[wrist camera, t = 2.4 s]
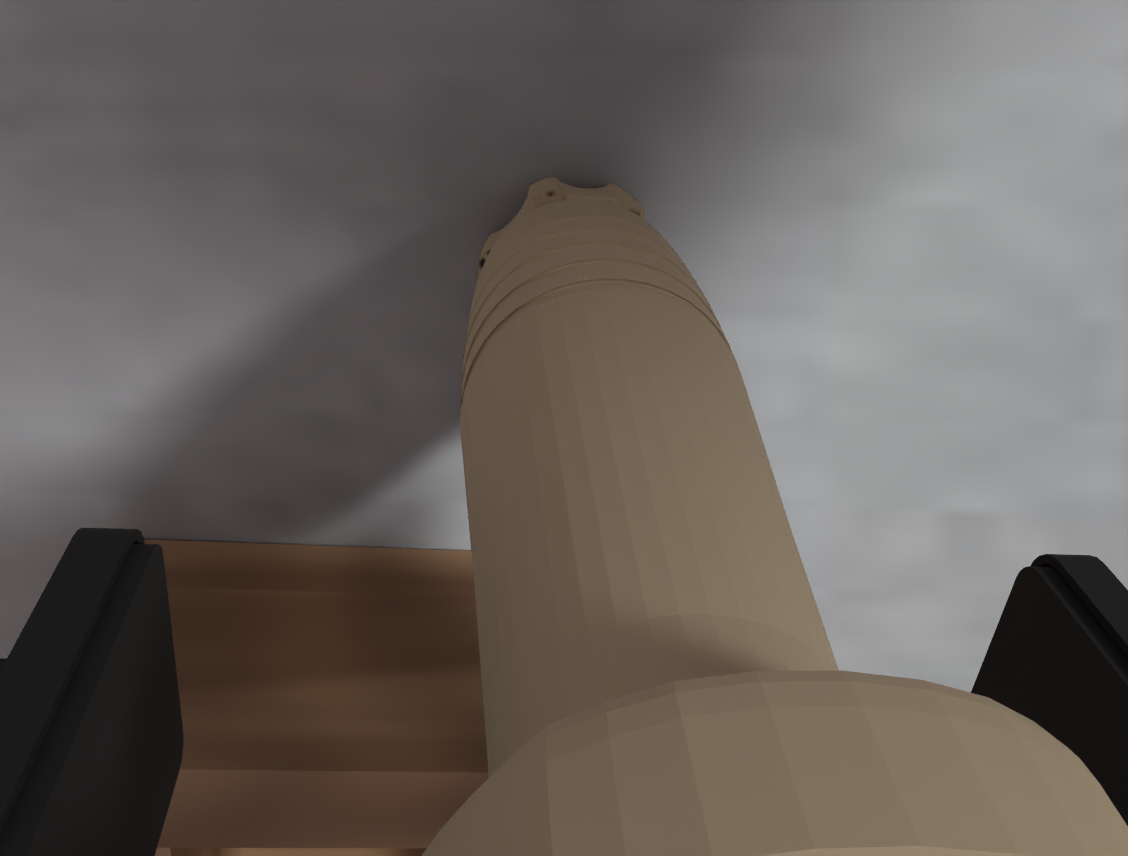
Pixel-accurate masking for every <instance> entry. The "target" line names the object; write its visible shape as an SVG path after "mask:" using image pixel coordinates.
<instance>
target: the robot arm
mask: <svg viewBox="0 0 1128 856" xmlns="http://www.w3.org/2000/svg"><path fill="white" fill-rule="evenodd" d="M971 693H973V694H977V695H981V696H985V697H989V698H991V699H992V700H994V701H996V702H998V703H1000V704H1002V705H1004V706H1006V707H1008V708H1010V709H1011V710H1013V711H1015V712H1017V713H1019V714H1021V715H1023V716H1025V717H1027V718H1028V719H1030V720H1032V721H1034V722H1035V723H1037V724H1038V725H1039V726H1040V727H1042V728H1043V729H1044V730H1046V731H1047V732H1048V733H1050V734H1051V735H1052V736H1053V737H1055V738H1056V739H1057V740H1059V741H1060V742H1061V743H1063V744H1064V745H1065V746H1066V747H1068V748H1069V749H1070V750H1071V751H1072V752H1073V753H1074V754H1075V755H1077V756H1078V757H1079V758H1080V759H1081V761H1082V762H1083V763H1084V764H1085V766H1086V767H1087V768H1088V769H1089V771H1090V772H1091V773H1092V775H1093V776H1094V777H1095V778H1096V780H1097V781H1098V782H1099V783H1100V785H1101V786H1102V788H1103V789H1104V791H1105V792H1106V794H1107V795H1108V797H1109V799H1110V800H1111V802H1112V803H1113V805H1114V806H1115V808H1116V809H1117V811H1118V812H1119V814H1120V815H1121V817H1122V818H1123V820H1124V821H1125V823H1126V825H1127V826H1128V590H1127V589H1126V588H1125V587H1124V586H1123V584H1122V583H1121V582H1120V581H1119V580H1118V579H1117V578H1116V576H1115V575H1114V574H1113V573H1112V572H1111V571H1110V570H1109V569H1108V567H1107V566H1106V565H1105V564H1104V563H1103V562H1102V561H1100V560H1099V559H1098V558H1097V557H1093V556H1090V555H1056V554H1045V555H1041V556H1039V557H1037V558H1036V559H1035V560H1034V561H1033V563H1032V564H1031V566H1030V567H1025V568H1023V569H1022V570H1021V571H1020V572H1019V574H1018V576H1017V577H1016V580H1015V582H1014V585H1013V587H1012V590H1011V593H1010V595H1009V598H1008V600H1007V603H1006V605H1005V608H1004V610H1003V613H1002V615H1001V618H1000V620H999V623H998V625H997V628H996V631H995V633H994V636H993V638H992V641H991V643H990V646H989V648H988V651H987V653H986V656H985V658H984V661H983V663H982V666H981V669H980V671H979V674H978V676H977V679H976V681H975V684H974V686H973V689H972V691H971ZM183 741H184V736H183V724H182V716H181V707H180V698H179V689H178V680H177V671H176V662H175V653H174V645H173V636H172V627H171V618H170V609H169V600H168V591H167V582H166V574H165V565H164V556H163V551H162V548H161V546H160V545H159V544H145V543H144V537H143V535H142V533H141V531H139V530H138V529H106V528H81V529H79V530H77V532H76V533H75V534H74V536H73V537H72V539H71V541H70V543H69V545H68V547H67V549H66V550H65V552H64V554H63V556H62V558H61V560H60V562H59V563H58V565H57V567H56V569H55V571H54V573H53V575H52V576H51V578H50V580H49V582H48V584H47V586H46V588H45V589H44V591H43V593H42V595H41V597H40V599H39V601H38V602H37V604H36V606H35V608H34V610H33V612H32V614H31V615H30V617H29V619H28V621H27V623H26V625H25V626H24V628H23V630H22V632H21V634H20V636H19V638H18V639H17V641H16V643H15V645H14V647H13V649H12V651H11V652H10V654H9V656H8V658H7V659H0V856H155V853H156V849H157V846H158V843H159V839H160V836H161V832H162V829H163V825H164V822H165V819H166V815H167V812H168V808H169V805H170V801H171V798H172V795H173V791H174V788H175V784H176V781H177V778H178V774H179V770H180V766H181V761H182V755H183Z"/></svg>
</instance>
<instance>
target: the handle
mask: <svg viewBox="0 0 1128 856" xmlns="http://www.w3.org/2000/svg"><path fill="white" fill-rule="evenodd" d="M643 218H644V210H643V208H642V207H641V206H640V204H639V203H638V201H637V200H636V199H634V198H633V197H632V196H631V195H630V194H628V193H627V192H626V191H624V190H623V189H622V188H620V187H618V186H616V185H615V184H608V185H606V186H604V187H600V188H579V187H574V186H570V185H567V184H565V183H563V182H561V181H560V180H559V179H558V178H556V177H549V178H546V179H542V180H540V181H537V182H535V183H533V184H531V186H530V187H529V191H528V196H527V198H526V200H525V202H524V204H523V206H522V207H521V209H520V210H519V212H518V213H517V215H516V216H515V217H514V218H513V219H512V220H511V221H510V222H509V223H508V224H507V225H506V226H505V227H504V228H502V229H501V230H500V231H498V232H494V233H491V234H490V235H489V236H488V238H487V240H486V242H485V244H484V246H483V248H482V251H481V255H480V260H479V264H478V269H477V283H476V287H475V291H474V295H473V299H472V304H471V309H470V314H469V321H468V327H467V335H466V342H465V349H464V360H463V376H462V397H461V440H462V452H463V463H464V474H465V485H466V496H467V507H468V518H469V530H470V541H471V552H472V563H473V574H474V585H475V599H476V612H477V625H478V638H479V652H480V665H481V678H482V692H483V705H484V718H485V731H486V745H487V758H488V779H487V780H486V781H485V782H484V783H483V784H482V785H481V786H480V787H479V788H478V789H477V790H476V791H475V792H474V793H473V794H472V795H471V796H470V797H469V798H468V799H467V800H466V801H465V803H464V804H463V805H462V806H461V807H460V808H459V809H458V810H457V812H456V813H455V814H454V815H453V816H452V817H451V818H450V820H449V821H448V822H447V823H446V824H445V825H444V826H443V827H442V829H441V830H440V831H439V832H438V834H437V835H436V836H435V838H434V839H433V841H432V842H431V843H430V845H429V846H428V848H427V849H426V850H425V852H424V853H423V854H422V856H1128V826H1127V825H1126V823H1125V821H1124V820H1123V818H1122V817H1121V815H1120V814H1119V812H1118V811H1117V809H1116V808H1115V806H1114V805H1113V803H1112V802H1111V800H1110V799H1109V797H1108V795H1107V794H1106V792H1105V791H1104V789H1103V788H1102V786H1101V785H1100V783H1099V782H1098V781H1097V780H1096V778H1095V777H1094V776H1093V775H1092V773H1091V772H1090V771H1089V769H1088V768H1087V767H1086V766H1085V764H1084V763H1083V762H1082V761H1081V759H1080V758H1079V757H1078V756H1077V755H1075V754H1074V753H1073V752H1072V751H1071V750H1070V749H1069V748H1068V747H1066V746H1065V745H1064V744H1063V743H1061V742H1060V741H1059V740H1057V739H1056V738H1055V737H1053V736H1052V735H1051V734H1050V733H1048V732H1047V731H1046V730H1044V729H1043V728H1042V727H1040V726H1039V725H1038V724H1037V723H1035V722H1034V721H1032V720H1030V719H1028V718H1027V717H1025V716H1023V715H1021V714H1019V713H1017V712H1015V711H1013V710H1011V709H1010V708H1008V707H1006V706H1004V705H1002V704H1000V703H998V702H996V701H994V700H992V699H991V698H989V697H985V696H981V695H977V694H973V693H970V692H966V691H962V690H958V689H954V688H951V687H947V686H943V685H939V684H935V683H932V682H928V681H924V680H918V679H909V678H900V677H892V676H883V675H875V674H866V673H857V672H849V671H839V670H838V667H837V664H836V661H835V658H834V655H833V653H832V650H831V647H830V644H829V641H828V638H827V635H826V632H825V629H824V626H823V623H822V620H821V617H820V614H819V611H818V608H817V605H816V602H815V599H814V596H813V593H812V591H811V588H810V585H809V582H808V579H807V576H806V573H805V570H804V567H803V564H802V561H801V558H800V555H799V552H798V549H797V546H796V543H795V540H794V537H793V534H792V531H791V529H790V526H789V522H788V519H787V516H786V513H785V510H784V507H783V504H782V501H781V497H780V494H779V491H778V488H777V485H776V482H775V479H774V476H773V472H772V469H771V466H770V463H769V460H768V457H767V454H766V451H765V448H764V444H763V441H762V438H761V435H760V432H759V429H758V426H757V423H756V419H755V416H754V413H753V410H752V407H751V404H750V401H749V398H748V394H747V391H746V388H745V385H744V382H743V379H742V376H741V373H740V370H739V368H738V365H737V362H736V360H735V357H734V355H733V354H732V351H731V349H730V346H729V344H728V342H727V340H726V337H725V335H724V333H723V331H722V330H721V327H720V325H719V323H718V320H717V318H716V316H715V314H714V312H713V310H712V309H711V307H710V304H709V303H708V301H707V299H706V298H705V296H704V294H703V293H702V291H701V289H700V288H699V286H698V285H697V283H696V281H695V280H694V278H693V277H692V275H691V273H690V272H689V270H688V269H687V267H686V266H685V264H684V263H683V261H682V259H681V258H680V257H679V256H678V255H677V253H676V252H675V251H674V250H673V248H672V247H671V246H670V245H669V244H668V243H667V241H666V240H665V239H664V238H663V237H662V236H661V235H660V234H659V233H658V232H657V231H656V230H655V229H653V228H652V227H651V226H650V225H649V224H648V223H646V222H645V221H644V220H643Z"/></svg>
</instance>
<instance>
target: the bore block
mask: <svg viewBox="0 0 1128 856" xmlns="http://www.w3.org/2000/svg"><path fill="white" fill-rule="evenodd" d="M144 543H145V544H159V545H160V546H161V548H162V551H163V556H164V565H165V574H166V582H167V591H168V600H169V609H170V618H171V627H172V636H173V645H174V653H175V662H176V671H177V680H178V689H179V698H180V707H181V716H182V724H183V736H184V741H183V755H182V761H181V766H180V770H179V774H178V778H177V781H176V784H175V788H174V791H173V795H172V798H171V801H170V805H169V808H168V812H167V815H166V819H165V822H164V825H163V829H162V832H161V836H160V839H159V843H158V846H157V849H156V853H155V856H422V854H423V853H424V852H425V850H426V849H427V848H428V846H429V845H430V843H431V842H432V841H433V839H434V838H435V836H436V835H437V834H438V832H439V831H440V830H441V829H442V827H443V826H444V825H445V824H446V823H447V822H448V821H449V820H450V818H451V817H452V816H453V815H454V814H455V813H456V812H457V810H458V809H459V808H460V807H461V806H462V805H463V804H464V803H465V801H466V800H467V799H468V798H469V797H470V796H471V795H472V794H473V793H474V792H475V791H476V790H477V789H478V788H479V787H480V786H481V785H482V784H483V783H484V782H485V781H486V780H487V779H488V758H487V745H486V731H485V718H484V705H483V692H482V678H481V665H480V652H479V638H478V625H477V612H476V599H475V585H474V574H473V563H472V552H471V551H465V550H437V549H408V548H379V547H351V546H322V545H293V544H265V543H236V542H207V541H179V540H150V539H144Z"/></svg>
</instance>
